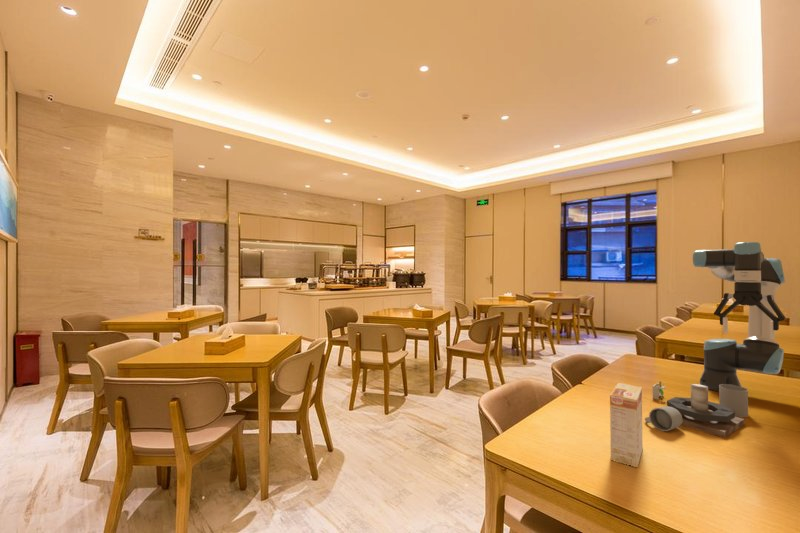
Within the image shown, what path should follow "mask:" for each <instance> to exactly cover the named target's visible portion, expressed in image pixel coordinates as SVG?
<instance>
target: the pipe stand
mask: <svg viewBox="0 0 800 533" xmlns="http://www.w3.org/2000/svg"><path fill="white" fill-rule="evenodd" d="M690 398H691V406H686V407H689V408H693V409H697V410H700V411H712V410H709V409H708V401H709V389H708V387H707V386H704V385H700V383H698V384H697V383H691V384H690ZM712 412H713V411H712ZM681 415H682V414H681ZM682 418H683V421H682V424H681V425H680V426H683V427H687V428H691V429H693V430H697V431H700V432H703V433H707V434H710V435H713V436H716V437H720V438H722V439H725V438H727V437H728V436H729V435H731V434H733V433H735V431H738V430H739V429H740V428H742V427H743V426H745V423H746V422H745V418H743V417H736V416H735V418H733V419H732V420H730V421H728V422H718V421H706V420H700V419H696V418H693V417H689V416H686V415H682Z"/></svg>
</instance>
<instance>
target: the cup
mask: <svg viewBox="0 0 800 533" xmlns="http://www.w3.org/2000/svg"><path fill="white" fill-rule="evenodd" d="M718 392H719V393H718V395H719V396H718V397H719V399H718V400H719V402H718V404H721V405H723V406H725V407H727V408H728V409H730V410H732V411H734V412H735V417H738V418H749V390H748V388H746V387H743V386H742V387H740V386H735V385H728V384H721V385H719V391H718Z"/></svg>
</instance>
